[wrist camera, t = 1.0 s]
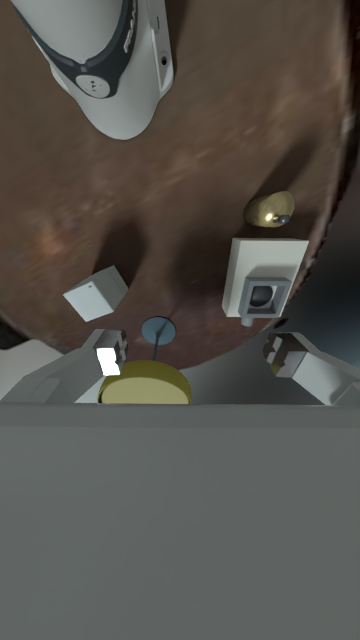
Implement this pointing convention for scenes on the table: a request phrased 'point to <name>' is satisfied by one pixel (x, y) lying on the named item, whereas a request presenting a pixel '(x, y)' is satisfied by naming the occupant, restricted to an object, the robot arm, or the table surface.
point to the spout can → (270, 210)
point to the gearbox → (261, 276)
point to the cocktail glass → (148, 374)
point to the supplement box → (97, 294)
